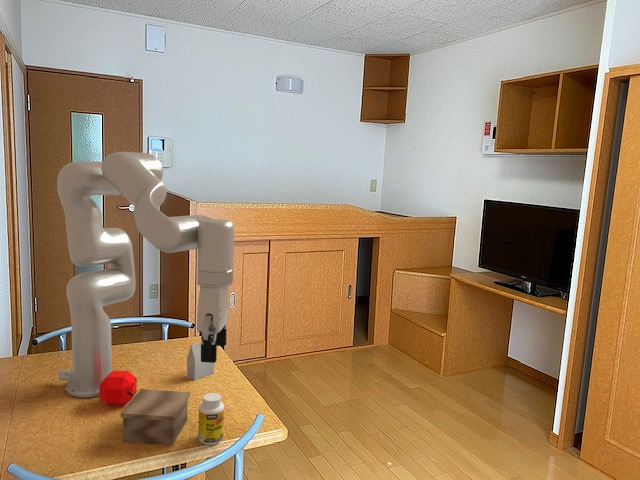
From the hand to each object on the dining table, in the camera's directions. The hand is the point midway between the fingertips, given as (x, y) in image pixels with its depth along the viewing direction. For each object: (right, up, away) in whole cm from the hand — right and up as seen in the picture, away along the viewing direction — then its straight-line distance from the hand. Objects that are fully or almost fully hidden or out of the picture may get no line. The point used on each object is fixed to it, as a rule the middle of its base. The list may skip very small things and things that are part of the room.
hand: (214, 353), depth 110 cm
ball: (-28, -17, +18) cm, 37 cm away
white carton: (-12, -15, +36) cm, 41 cm away
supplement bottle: (-1, -20, +3) cm, 21 cm away
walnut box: (-14, -19, +5) cm, 24 cm away
